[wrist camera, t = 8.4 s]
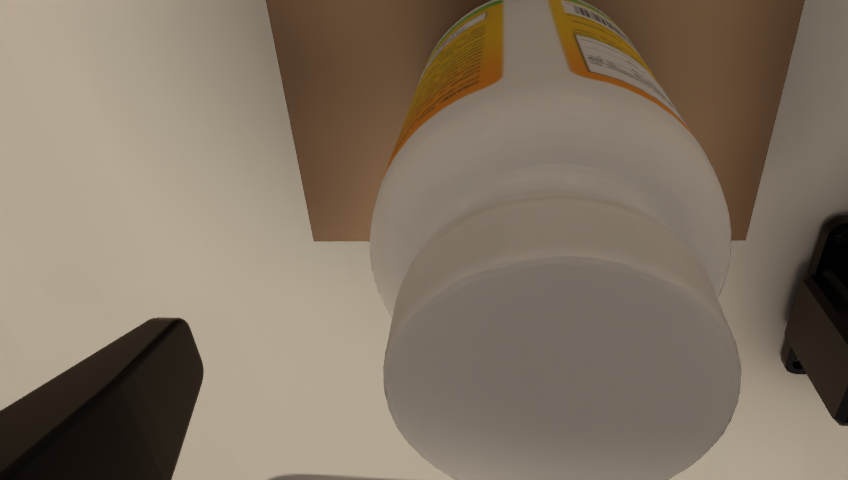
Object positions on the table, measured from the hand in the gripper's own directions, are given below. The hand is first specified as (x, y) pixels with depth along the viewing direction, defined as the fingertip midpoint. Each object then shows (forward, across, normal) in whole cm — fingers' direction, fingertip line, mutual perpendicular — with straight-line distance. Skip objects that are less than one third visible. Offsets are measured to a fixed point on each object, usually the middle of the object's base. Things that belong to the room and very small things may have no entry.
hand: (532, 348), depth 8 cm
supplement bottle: (+9, 0, 0) cm, 9 cm away
